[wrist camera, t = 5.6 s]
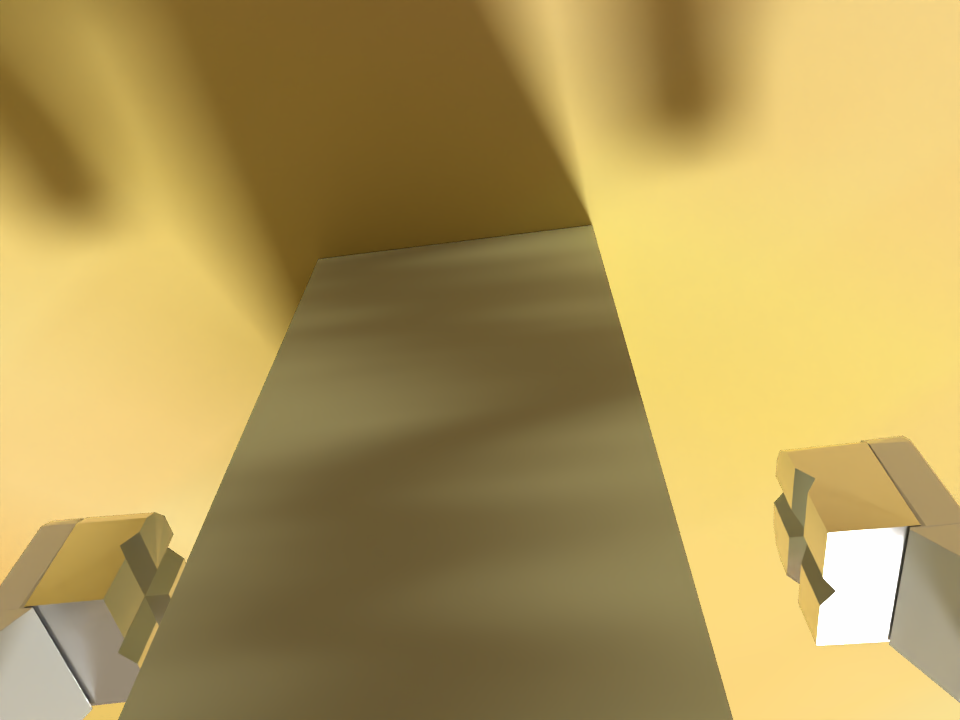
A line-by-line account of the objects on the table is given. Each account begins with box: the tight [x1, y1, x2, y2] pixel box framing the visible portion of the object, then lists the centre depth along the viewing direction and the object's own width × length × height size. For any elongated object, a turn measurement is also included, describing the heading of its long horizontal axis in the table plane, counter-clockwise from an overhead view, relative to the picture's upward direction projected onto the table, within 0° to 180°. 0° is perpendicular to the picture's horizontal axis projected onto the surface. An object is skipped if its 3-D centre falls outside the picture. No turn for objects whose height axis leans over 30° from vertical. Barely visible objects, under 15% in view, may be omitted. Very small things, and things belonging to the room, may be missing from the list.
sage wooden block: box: [118, 225, 733, 720], centre depth 10 cm, size 4×4×10 cm
